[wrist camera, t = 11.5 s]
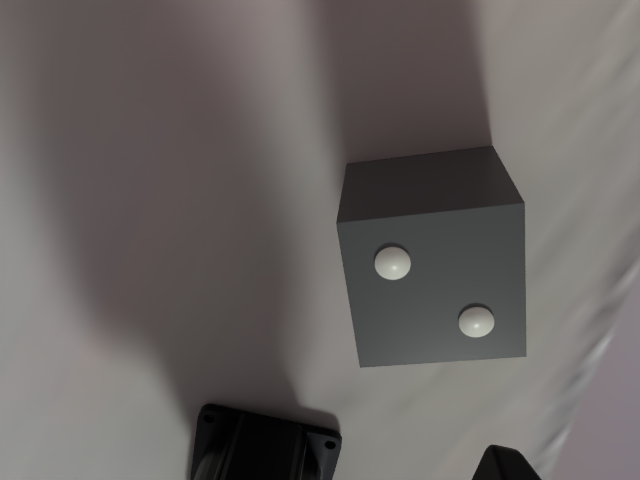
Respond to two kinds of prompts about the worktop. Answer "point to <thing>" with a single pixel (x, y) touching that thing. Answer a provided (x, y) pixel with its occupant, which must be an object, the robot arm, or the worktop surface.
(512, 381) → the worktop surface
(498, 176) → the die
